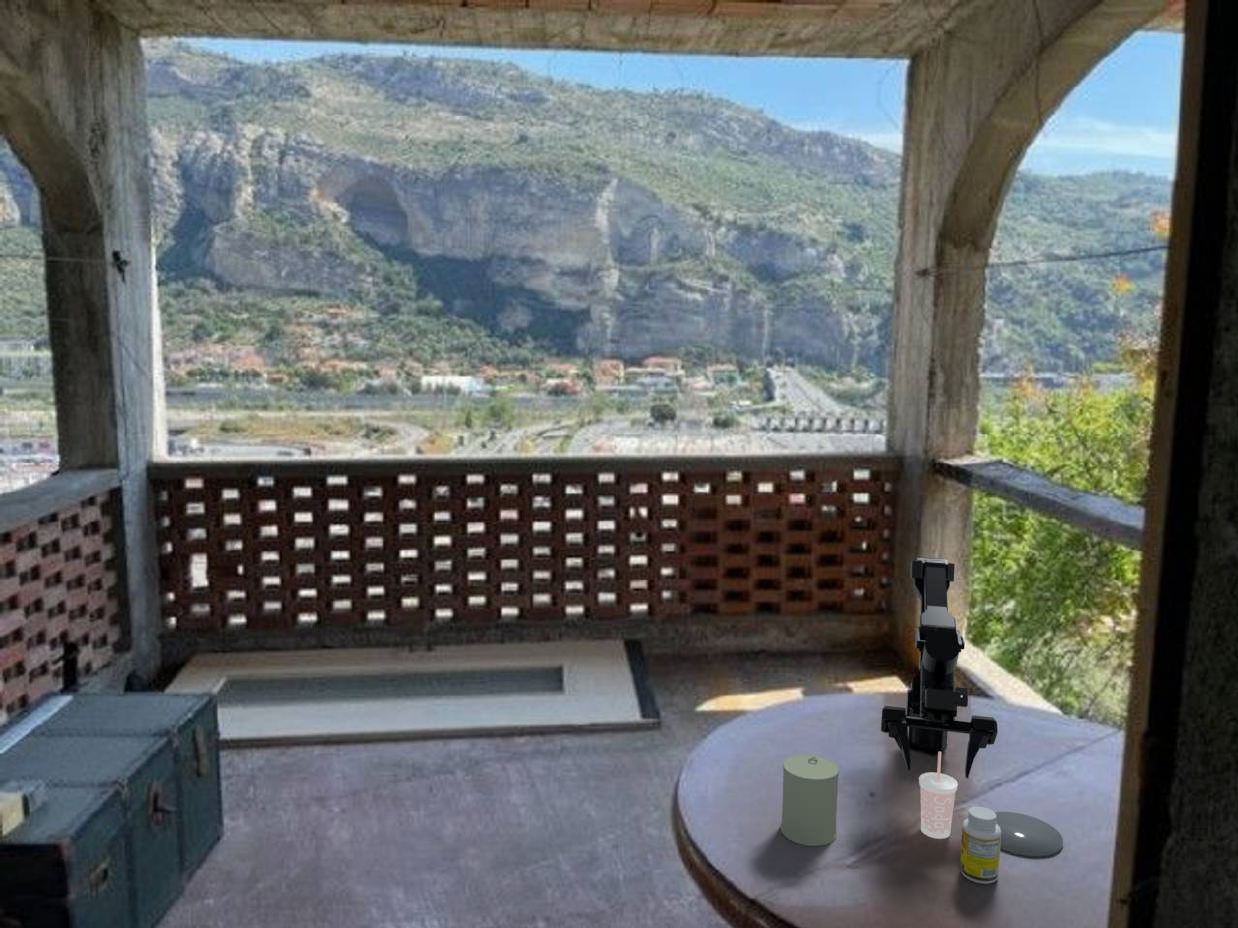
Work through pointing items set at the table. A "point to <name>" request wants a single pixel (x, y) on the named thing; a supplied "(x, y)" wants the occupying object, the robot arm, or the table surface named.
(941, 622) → the robot arm
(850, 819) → the table surface
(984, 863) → the supplement bottle
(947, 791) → the beverage cup
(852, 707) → the table surface
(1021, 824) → the coaster
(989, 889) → the table surface
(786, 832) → the can
